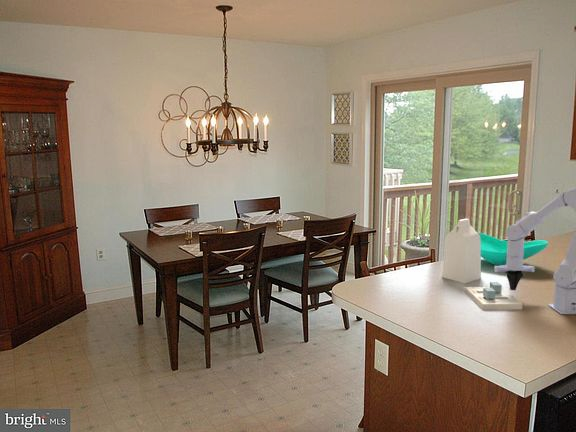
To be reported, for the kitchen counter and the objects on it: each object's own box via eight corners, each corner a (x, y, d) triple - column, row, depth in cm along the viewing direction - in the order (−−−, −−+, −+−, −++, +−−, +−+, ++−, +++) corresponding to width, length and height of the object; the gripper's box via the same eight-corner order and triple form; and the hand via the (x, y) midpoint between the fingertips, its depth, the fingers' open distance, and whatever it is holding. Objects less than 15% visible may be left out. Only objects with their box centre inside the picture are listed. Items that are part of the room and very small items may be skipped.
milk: (464, 283, 208) (467, 223, 203) (441, 277, 217) (444, 219, 213) (480, 278, 215) (483, 219, 210) (458, 272, 224) (460, 216, 220)
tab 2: (501, 292, 187) (501, 285, 187) (493, 292, 187) (493, 285, 187) (497, 289, 191) (497, 282, 191) (489, 289, 191) (489, 282, 191)
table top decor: (449, 263, 240) (450, 236, 238) (471, 252, 260) (472, 228, 258) (536, 278, 213) (538, 248, 211) (553, 265, 234) (555, 238, 232)
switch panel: (522, 309, 176) (522, 303, 176) (482, 309, 176) (483, 303, 176) (500, 291, 196) (500, 286, 195) (464, 291, 196) (464, 286, 196)
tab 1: (495, 298, 180) (495, 291, 180) (486, 298, 180) (487, 291, 180) (490, 295, 184) (491, 287, 184) (482, 295, 184) (483, 287, 184)
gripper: (529, 252, 190) (527, 286, 193) (491, 252, 191) (489, 286, 193) (538, 257, 183) (535, 292, 186) (499, 257, 184) (496, 292, 186)
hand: (512, 289), depth 189 cm, fingers closed
